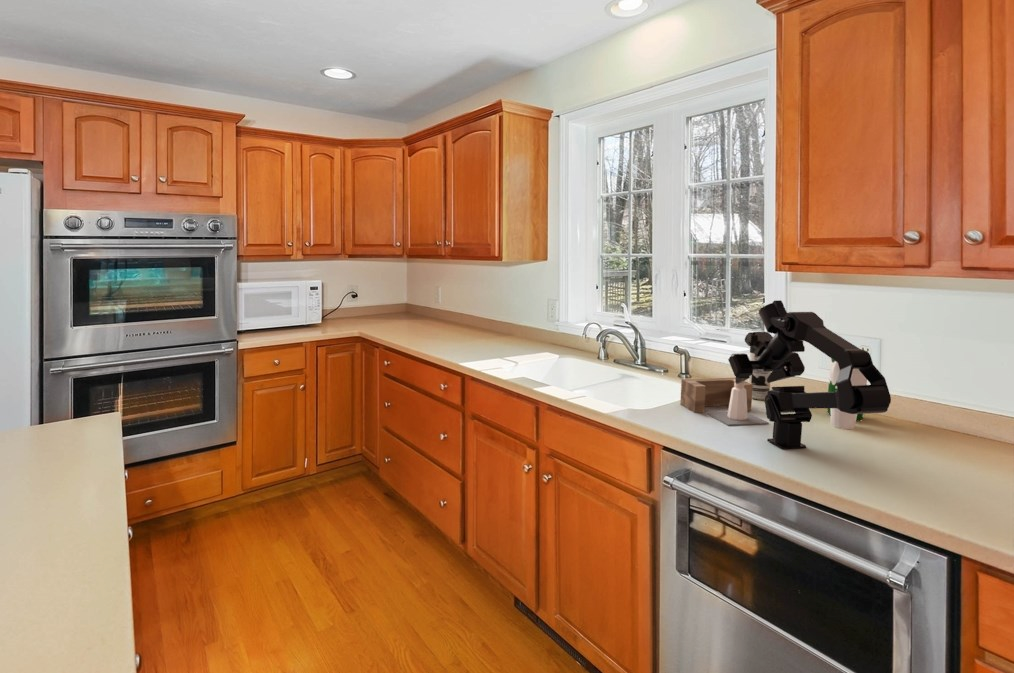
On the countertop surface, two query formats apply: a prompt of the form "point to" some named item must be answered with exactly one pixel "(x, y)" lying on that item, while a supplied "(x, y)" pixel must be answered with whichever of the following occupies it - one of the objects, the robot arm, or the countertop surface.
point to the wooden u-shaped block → (710, 393)
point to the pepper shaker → (738, 402)
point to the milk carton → (856, 379)
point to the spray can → (758, 379)
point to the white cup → (842, 419)
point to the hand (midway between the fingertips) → (752, 381)
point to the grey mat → (731, 422)
